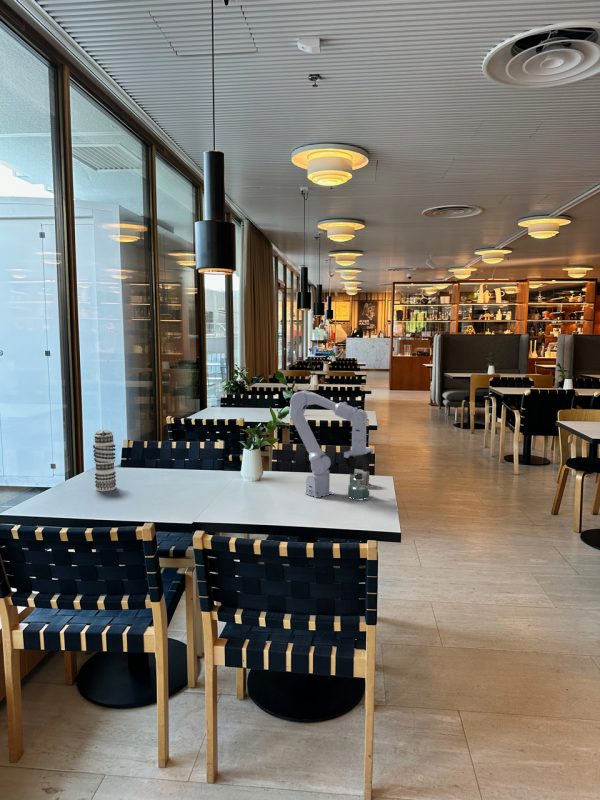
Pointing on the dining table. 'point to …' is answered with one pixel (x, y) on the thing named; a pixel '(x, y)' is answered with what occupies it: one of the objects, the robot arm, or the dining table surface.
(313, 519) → the dining table surface
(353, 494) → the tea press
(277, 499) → the dining table surface
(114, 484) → the white tiered cylinder
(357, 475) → the black and white knob
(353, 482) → the ceramic mug
